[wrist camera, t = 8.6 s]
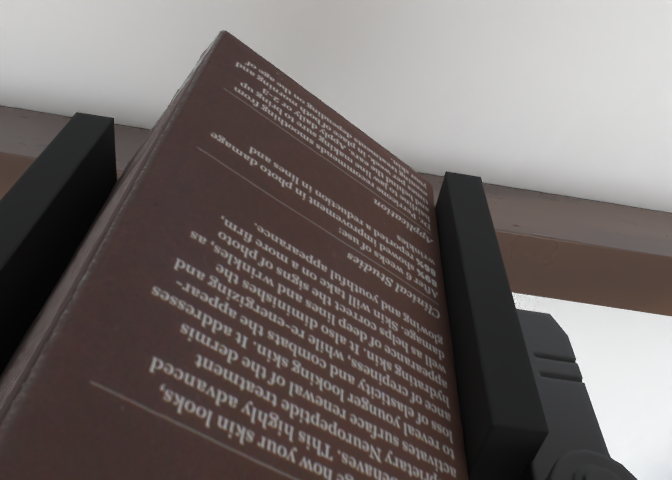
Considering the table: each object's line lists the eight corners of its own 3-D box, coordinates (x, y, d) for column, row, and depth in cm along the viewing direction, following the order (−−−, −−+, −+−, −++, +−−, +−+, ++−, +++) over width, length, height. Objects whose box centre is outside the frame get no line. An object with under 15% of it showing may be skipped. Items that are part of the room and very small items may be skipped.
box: (121, 170, 15) (-337, 900, 5) (225, 20, 13) (-231, 790, 3) (325, 297, 17) (262, 993, 7) (444, 186, 15) (580, 967, 5)
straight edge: (-90, 91, 22) (-147, 129, 20) (808, 234, 24) (857, 286, 22) (-75, 153, 24) (-125, 196, 21) (771, 284, 26) (813, 338, 23)
